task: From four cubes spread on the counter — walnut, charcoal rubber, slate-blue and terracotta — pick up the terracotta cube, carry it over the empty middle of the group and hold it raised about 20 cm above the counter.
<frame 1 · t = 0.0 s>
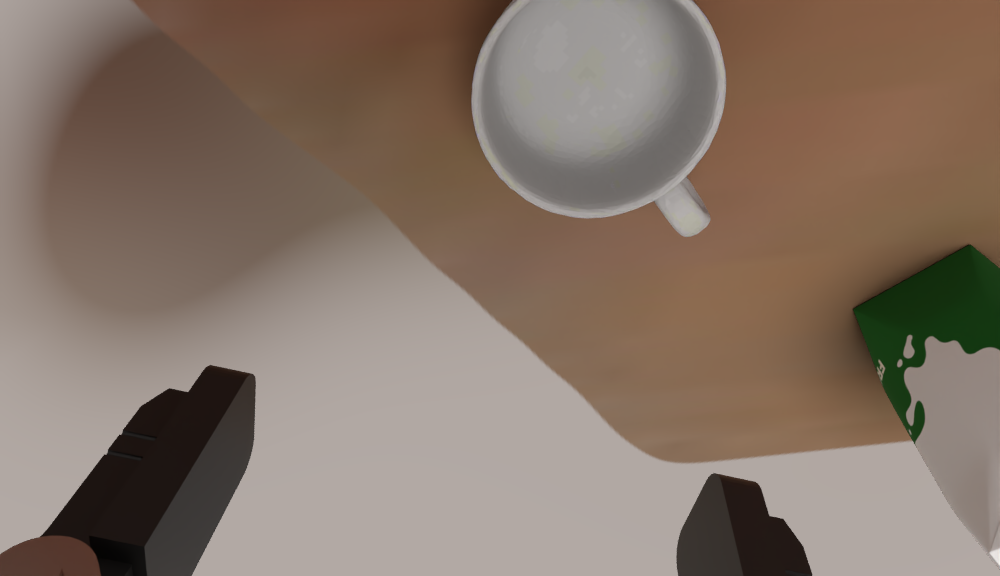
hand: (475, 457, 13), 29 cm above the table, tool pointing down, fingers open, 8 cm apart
milk carton: (933, 314, 44), on the table
teacup: (605, 84, 38), on the table
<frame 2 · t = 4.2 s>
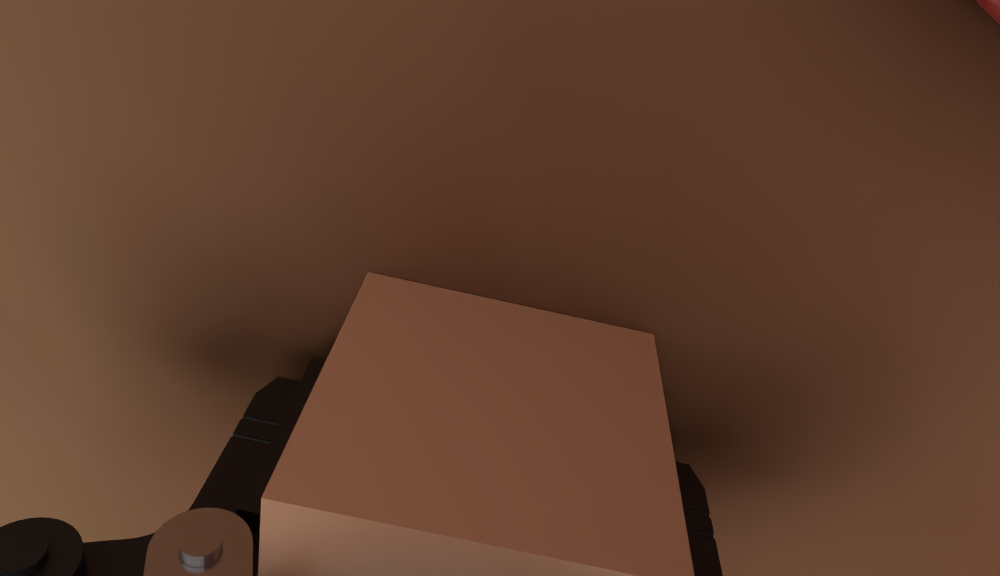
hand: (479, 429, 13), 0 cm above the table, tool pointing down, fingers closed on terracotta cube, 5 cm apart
terracotta cube: (484, 411, 14), on the table, touching gripper
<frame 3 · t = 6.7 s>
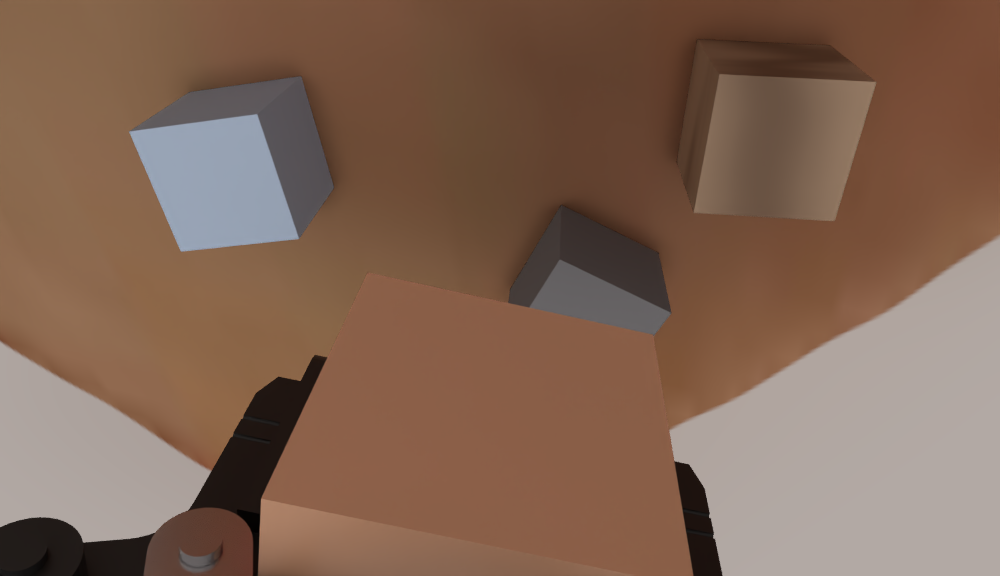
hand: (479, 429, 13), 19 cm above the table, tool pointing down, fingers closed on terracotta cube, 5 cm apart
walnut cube: (749, 105, 29), on the table
slate blue cube: (264, 140, 32), on the table
charcoal cube: (582, 270, 34), on the table
terracotta cube: (483, 411, 14), point 19 cm above the table, touching gripper
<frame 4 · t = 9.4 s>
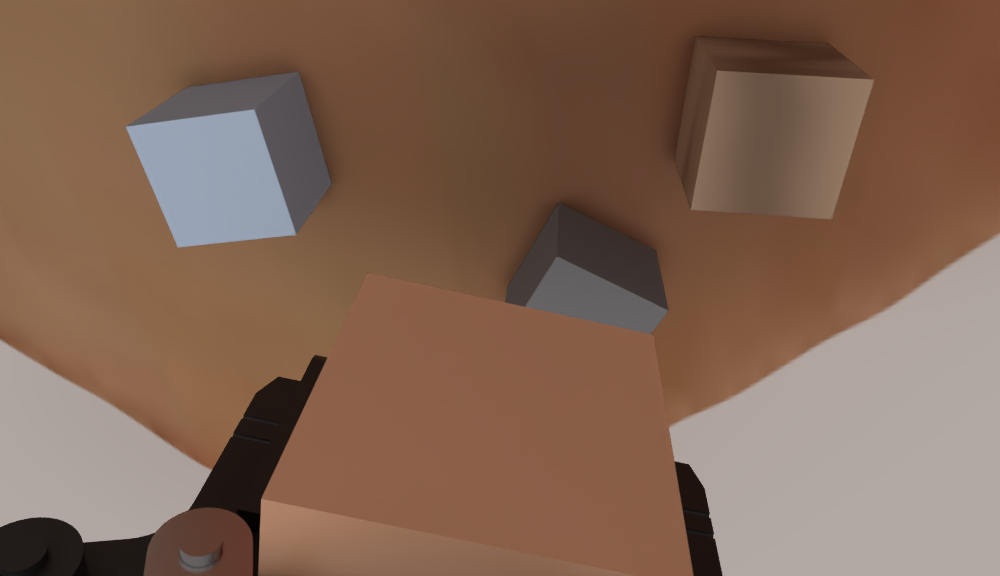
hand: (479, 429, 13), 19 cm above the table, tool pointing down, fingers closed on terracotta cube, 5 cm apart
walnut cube: (747, 103, 29), on the table
slate blue cube: (261, 136, 32), on the table
charcoal cube: (579, 268, 34), on the table
terracotta cube: (483, 411, 14), point 19 cm above the table, touching gripper
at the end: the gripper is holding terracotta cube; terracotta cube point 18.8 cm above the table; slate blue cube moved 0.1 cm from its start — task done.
